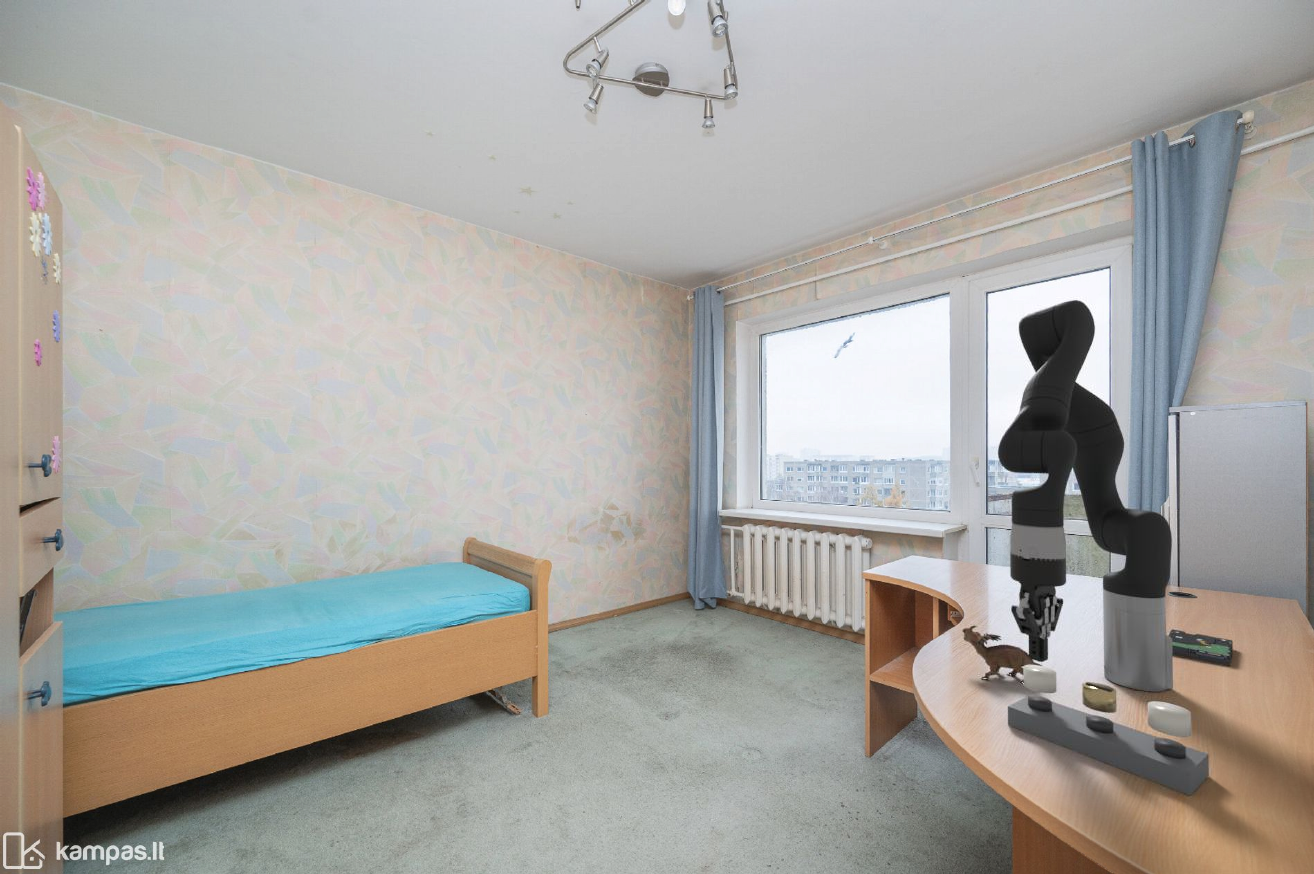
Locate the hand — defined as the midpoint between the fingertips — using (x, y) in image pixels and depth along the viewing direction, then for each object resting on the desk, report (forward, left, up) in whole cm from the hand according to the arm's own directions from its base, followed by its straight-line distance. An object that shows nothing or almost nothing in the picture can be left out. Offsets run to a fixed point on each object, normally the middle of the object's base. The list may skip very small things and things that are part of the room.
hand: (1038, 659), depth 90 cm
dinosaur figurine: (-5, -20, -11) cm, 23 cm away
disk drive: (-56, -39, -11) cm, 69 cm away
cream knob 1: (0, 0, -4) cm, 4 cm away
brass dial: (-5, +6, -4) cm, 9 cm away
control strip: (-5, +6, -11) cm, 13 cm away
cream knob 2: (-10, +13, -4) cm, 17 cm away
